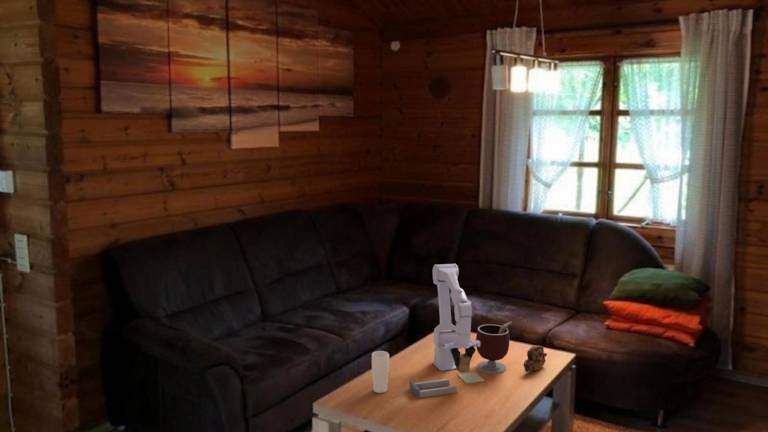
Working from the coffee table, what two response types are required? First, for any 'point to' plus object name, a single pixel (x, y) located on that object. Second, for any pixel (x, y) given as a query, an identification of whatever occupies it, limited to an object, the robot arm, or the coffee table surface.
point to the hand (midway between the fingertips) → (461, 365)
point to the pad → (470, 378)
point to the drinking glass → (380, 371)
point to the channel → (419, 387)
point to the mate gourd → (493, 347)
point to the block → (464, 363)
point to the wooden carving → (535, 358)
